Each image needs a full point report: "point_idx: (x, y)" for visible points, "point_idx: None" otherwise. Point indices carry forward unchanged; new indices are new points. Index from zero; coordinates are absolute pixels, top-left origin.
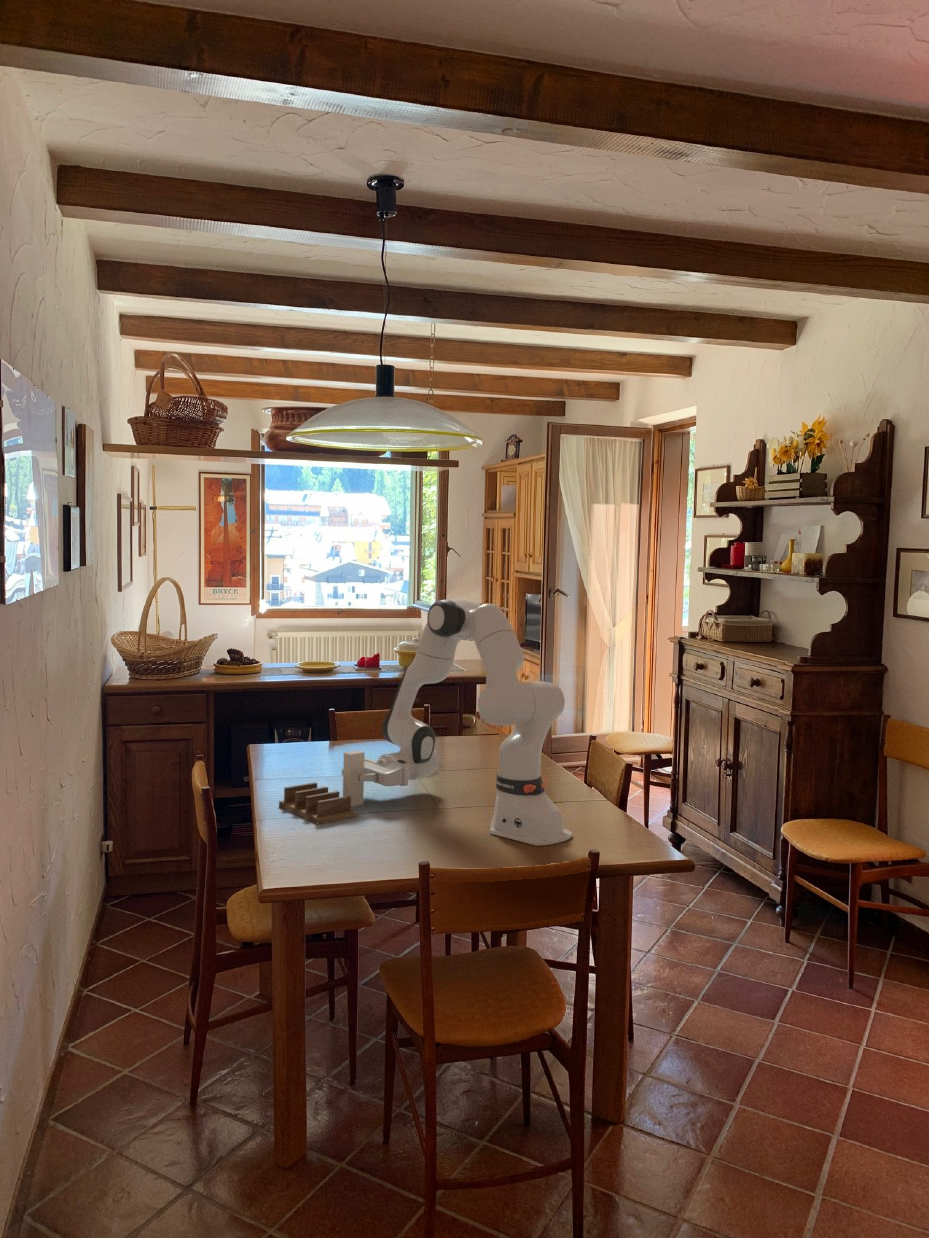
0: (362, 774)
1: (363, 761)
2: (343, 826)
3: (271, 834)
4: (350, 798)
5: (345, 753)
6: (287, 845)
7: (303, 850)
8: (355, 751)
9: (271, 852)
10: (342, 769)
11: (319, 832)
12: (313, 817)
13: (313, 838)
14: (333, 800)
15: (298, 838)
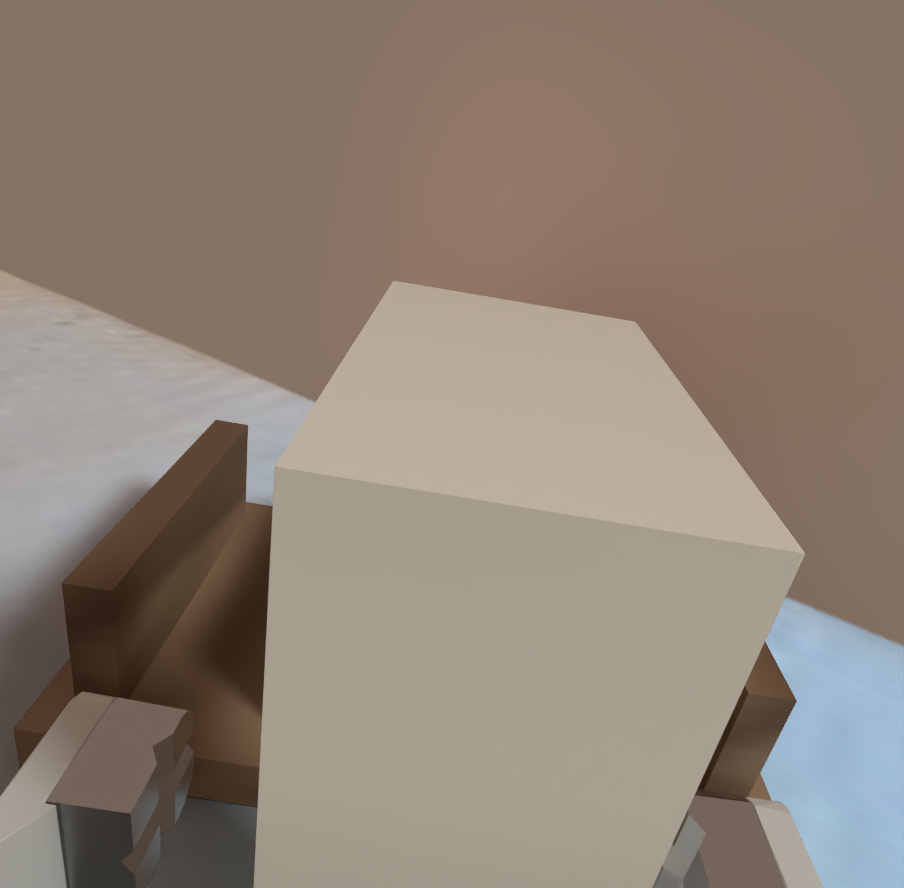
0: (114, 767)
1: (269, 752)
2: (4, 567)
3: (283, 402)
4: (67, 597)
5: (566, 319)
6: (134, 370)
7: (35, 361)
8: (643, 434)
9: (141, 338)
10: (765, 802)
11: (100, 466)
12: (253, 508)
13: (77, 423)
14: (164, 479)
15: (146, 408)
